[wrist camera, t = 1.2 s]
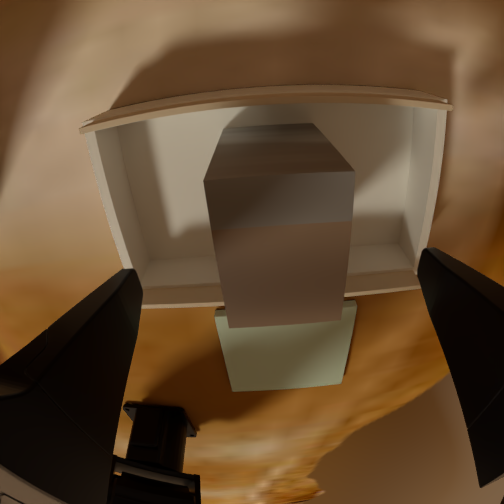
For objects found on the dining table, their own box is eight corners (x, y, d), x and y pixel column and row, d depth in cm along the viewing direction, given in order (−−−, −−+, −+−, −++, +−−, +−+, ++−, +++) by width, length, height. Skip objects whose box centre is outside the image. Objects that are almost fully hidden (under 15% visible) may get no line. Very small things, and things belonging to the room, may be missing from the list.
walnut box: (313, 229, 16) (340, 320, 11) (236, 234, 17) (228, 328, 11) (313, 123, 13) (355, 171, 8) (223, 128, 14) (203, 180, 8)
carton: (401, 245, 18) (428, 288, 14) (146, 262, 18) (127, 309, 15) (418, 90, 13) (462, 104, 9) (108, 110, 13) (68, 129, 10)
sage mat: (339, 377, 25) (341, 383, 24) (232, 385, 25) (232, 391, 25) (355, 300, 20) (357, 306, 19) (215, 310, 20) (214, 316, 20)
